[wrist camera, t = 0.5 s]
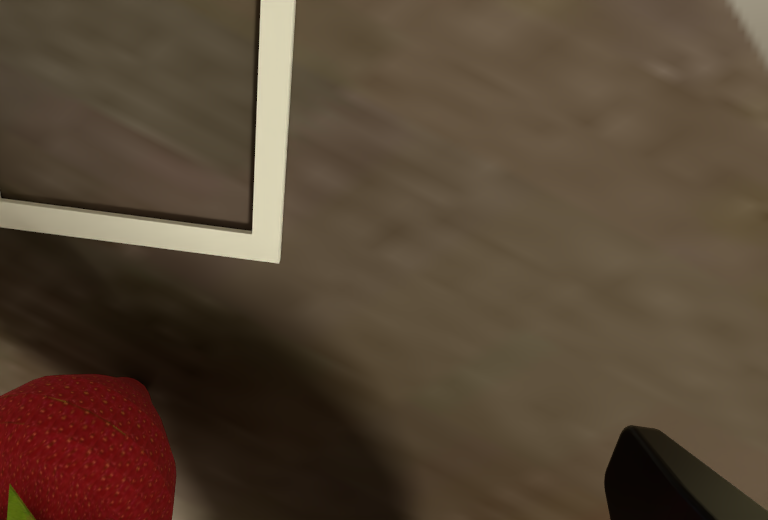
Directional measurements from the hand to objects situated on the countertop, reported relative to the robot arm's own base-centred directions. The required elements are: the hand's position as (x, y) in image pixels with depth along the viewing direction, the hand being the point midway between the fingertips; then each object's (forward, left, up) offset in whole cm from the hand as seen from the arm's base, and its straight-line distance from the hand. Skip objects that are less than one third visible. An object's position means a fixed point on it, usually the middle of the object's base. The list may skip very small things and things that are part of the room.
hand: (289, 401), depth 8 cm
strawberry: (-11, +8, -13) cm, 19 cm away
